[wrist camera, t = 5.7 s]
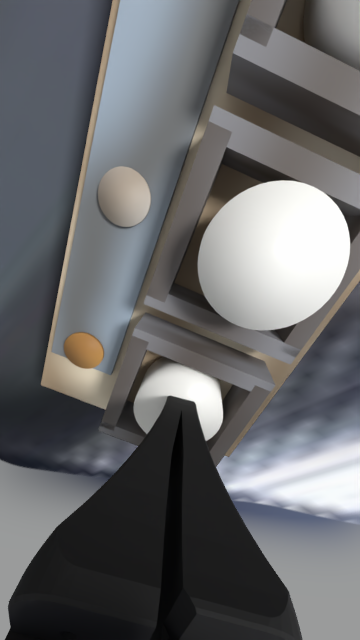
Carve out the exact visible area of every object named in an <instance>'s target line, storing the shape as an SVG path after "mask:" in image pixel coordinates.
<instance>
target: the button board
mask: <svg viewBox="0 0 360 640" xmlns="http://www.w3.org/2000/svg"><path fill="white" fill-rule="evenodd" d="M305 1H306V0H113V1H112V7H111V12H110V17H109V23H108V28H107V33H106V39H105V44H104V49H103V55H102V60H101V65H100V71H99V76H98V82H97V87H96V92H95V98H94V103H93V108H92V114H91V119H90V124H89V130H88V135H87V140H86V146H85V151H84V156H83V162H82V167H81V173H80V178H79V183H78V189H77V194H76V199H75V205H74V210H73V215H72V221H71V226H70V231H69V237H68V242H67V248H66V253H65V258H64V264H63V269H62V274H61V280H60V285H59V290H58V296H57V301H56V306H55V312H54V317H53V322H52V328H51V333H50V339H49V344H48V349H47V355H46V360H45V365H44V371H43V376H42V381H41V385H42V386H45V387H48V388H50V389H53V390H55V391H58V392H61V393H63V394H66V395H68V396H71V397H74V398H76V399H79V400H81V401H84V402H87V403H89V404H92V405H95V406H97V407H100V408H102V409H105V413H104V416H103V418H102V421H101V424H100V427H99V430H98V431H100V432H103V433H105V434H108V435H111V436H113V437H116V438H118V439H121V440H124V441H126V442H129V443H132V444H134V445H137V446H139V445H140V443H141V442H142V441H143V439H144V438H145V436H146V435H147V434H146V433H145V432H144V431H143V430H142V428H141V427H140V426H139V424H138V423H137V421H136V418H135V415H134V401H135V398H136V396H137V393H138V391H139V388H140V386H141V383H142V381H143V378H144V376H145V373H146V372H147V370H148V368H149V367H150V366H151V365H152V364H153V363H154V362H155V361H157V360H158V359H160V358H162V357H166V358H169V359H171V360H174V361H176V362H179V363H181V364H184V365H186V366H188V367H191V368H193V369H196V370H198V371H201V372H203V373H206V374H208V375H211V376H213V377H216V378H218V379H219V381H220V388H221V398H222V408H223V421H222V424H221V427H220V428H219V430H218V431H217V433H216V434H215V435H214V436H213V437H212V438H210V439H209V440H207V441H206V443H207V446H208V448H209V451H210V454H211V456H212V459H213V461H214V464H215V466H217V465H218V464H219V462H220V461H221V459H222V458H223V457H224V455H225V456H228V457H229V456H230V455H231V453H232V452H233V450H234V449H235V448H236V446H237V445H238V444H239V442H240V441H241V440H242V438H243V437H244V436H245V434H246V433H247V432H248V430H249V429H250V428H251V426H252V425H253V424H254V422H255V421H256V420H257V418H258V417H259V415H260V414H261V413H262V411H263V410H264V409H265V407H266V406H267V405H268V403H269V402H270V401H271V399H272V398H273V397H274V395H275V394H276V393H277V391H278V390H279V389H280V387H281V386H282V385H283V383H284V382H285V380H286V379H287V378H288V376H289V375H290V374H291V372H292V371H293V370H294V368H295V367H296V366H297V364H298V363H299V362H300V360H301V359H302V358H303V356H304V355H305V354H306V352H307V351H308V350H309V348H310V347H311V345H312V344H313V343H314V341H315V340H316V339H317V337H318V336H319V335H320V333H321V332H322V331H323V329H324V328H325V327H326V325H327V324H328V323H329V321H330V320H331V319H332V317H333V316H334V315H335V313H336V312H337V310H338V309H339V308H340V306H341V305H342V304H343V302H344V301H345V300H346V298H347V297H348V296H349V294H350V293H351V292H352V290H353V289H354V288H355V286H356V285H357V284H358V282H359V281H360V71H359V70H357V69H355V68H353V67H351V66H349V65H347V64H345V63H343V62H341V61H339V60H337V59H335V58H333V57H331V56H329V55H327V54H325V53H323V52H321V51H319V50H318V49H316V48H314V47H312V46H310V45H308V44H306V43H305V40H304V26H303V18H304V7H305ZM281 180H284V181H296V182H301V183H305V184H308V185H310V186H313V187H315V188H317V189H319V190H320V191H322V192H324V193H325V194H326V195H327V196H328V197H330V198H331V199H332V200H333V201H334V203H335V204H336V205H337V206H338V208H339V209H340V211H341V212H342V214H343V216H344V218H345V221H346V223H347V227H348V231H349V237H350V255H349V260H348V265H347V268H346V271H345V274H344V276H343V278H342V281H341V283H340V285H339V286H338V288H337V289H336V291H335V293H334V294H333V295H332V296H331V298H330V299H329V300H328V301H327V302H326V303H325V304H324V305H323V306H322V307H321V308H320V309H319V310H317V311H316V312H315V313H314V314H312V315H311V316H309V317H308V318H306V319H304V320H302V321H300V322H298V323H296V324H294V325H291V326H288V327H285V328H281V329H275V330H252V329H247V328H243V327H240V326H238V325H235V324H233V323H231V322H229V321H228V320H226V319H225V318H223V317H222V316H221V315H219V314H218V313H217V312H216V311H215V310H214V309H213V307H212V306H211V305H210V304H209V302H208V301H207V299H206V297H205V295H204V293H203V291H202V288H201V285H200V282H199V276H198V254H199V249H200V245H201V241H202V238H203V235H204V233H205V231H206V229H207V227H208V225H209V223H210V222H211V220H212V219H213V218H214V217H215V215H216V214H217V213H218V212H219V211H220V209H221V208H222V207H223V206H224V205H226V204H227V203H228V202H229V201H230V200H231V199H233V198H234V197H235V196H237V195H238V194H240V193H242V192H243V191H245V190H247V189H249V188H251V187H254V186H256V185H259V184H263V183H267V182H271V181H281Z"/></svg>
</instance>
